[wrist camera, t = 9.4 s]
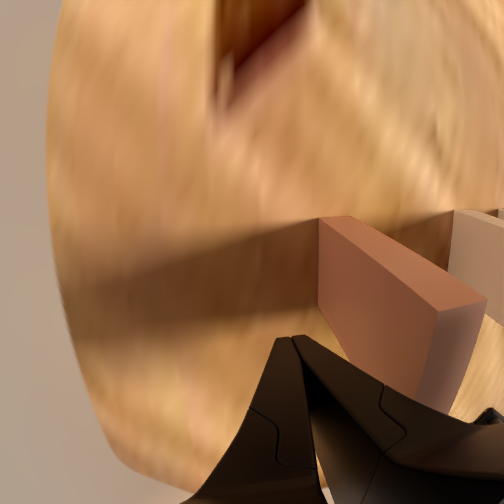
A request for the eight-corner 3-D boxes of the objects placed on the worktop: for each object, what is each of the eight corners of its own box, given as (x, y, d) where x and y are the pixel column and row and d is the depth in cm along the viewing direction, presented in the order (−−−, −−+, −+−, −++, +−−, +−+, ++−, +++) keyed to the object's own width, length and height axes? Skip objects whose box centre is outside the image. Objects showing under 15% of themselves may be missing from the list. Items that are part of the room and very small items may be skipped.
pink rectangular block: (351, 216, 14) (487, 298, 6) (347, 301, 15) (441, 428, 7) (318, 217, 14) (438, 311, 5) (317, 305, 15) (396, 445, 7)
